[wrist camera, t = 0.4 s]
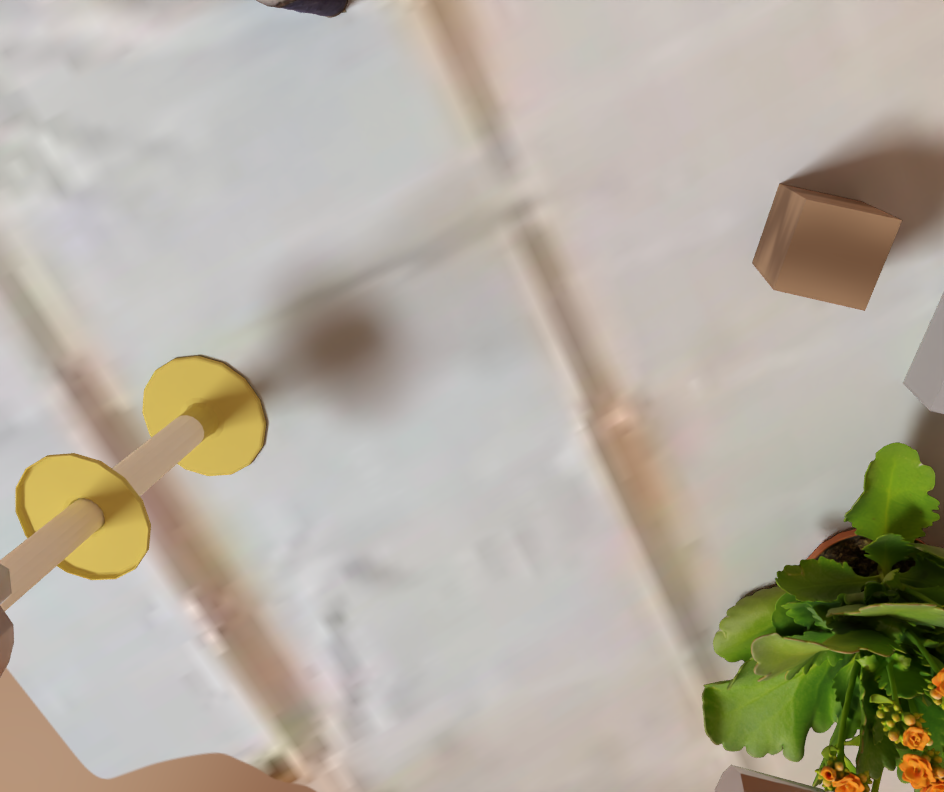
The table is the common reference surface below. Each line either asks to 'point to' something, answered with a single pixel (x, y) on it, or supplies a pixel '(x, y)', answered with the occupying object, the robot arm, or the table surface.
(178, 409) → the wheel axle
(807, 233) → the walnut block
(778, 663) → the potted flower
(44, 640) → the table surface
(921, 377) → the plate
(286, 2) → the flask
